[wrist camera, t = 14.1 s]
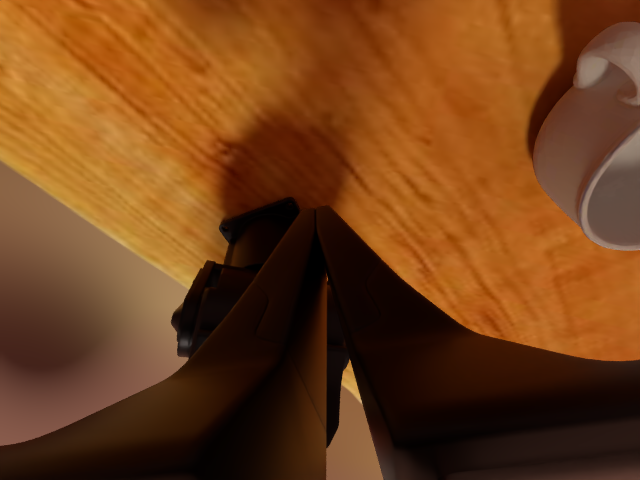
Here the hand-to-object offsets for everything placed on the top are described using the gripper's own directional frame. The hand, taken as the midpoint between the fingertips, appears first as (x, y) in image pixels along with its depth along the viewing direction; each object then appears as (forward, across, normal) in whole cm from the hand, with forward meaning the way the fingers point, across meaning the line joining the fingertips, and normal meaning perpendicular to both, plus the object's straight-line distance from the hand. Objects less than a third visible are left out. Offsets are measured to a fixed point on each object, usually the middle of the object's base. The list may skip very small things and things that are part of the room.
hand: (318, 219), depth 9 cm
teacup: (+13, -18, +4) cm, 23 cm away
